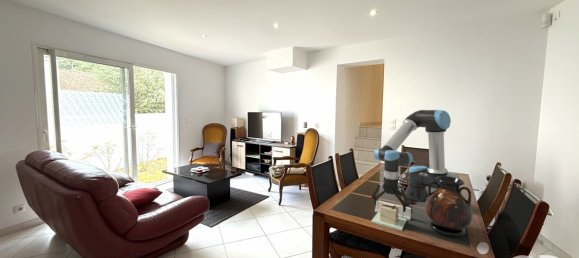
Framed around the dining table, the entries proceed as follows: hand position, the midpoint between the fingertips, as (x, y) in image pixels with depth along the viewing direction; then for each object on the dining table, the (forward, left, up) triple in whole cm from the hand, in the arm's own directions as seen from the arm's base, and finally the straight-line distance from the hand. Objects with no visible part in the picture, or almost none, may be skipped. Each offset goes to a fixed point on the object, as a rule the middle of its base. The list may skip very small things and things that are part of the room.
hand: (389, 213), depth 134 cm
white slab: (-5, -10, -5) cm, 12 cm away
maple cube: (0, 0, -4) cm, 4 cm away
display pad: (0, 0, -5) cm, 5 cm away
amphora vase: (-28, +6, -5) cm, 29 cm away
